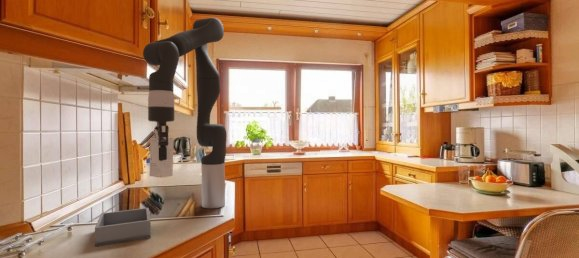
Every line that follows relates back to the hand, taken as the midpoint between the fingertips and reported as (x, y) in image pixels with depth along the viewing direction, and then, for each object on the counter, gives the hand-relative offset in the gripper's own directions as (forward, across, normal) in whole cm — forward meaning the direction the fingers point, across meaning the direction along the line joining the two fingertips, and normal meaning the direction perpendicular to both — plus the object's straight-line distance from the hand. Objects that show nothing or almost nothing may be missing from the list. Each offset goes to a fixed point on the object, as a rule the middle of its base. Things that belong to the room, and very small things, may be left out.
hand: (161, 159), depth 93 cm
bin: (+22, +3, +10) cm, 25 cm away
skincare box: (+6, 0, 0) cm, 6 cm away
